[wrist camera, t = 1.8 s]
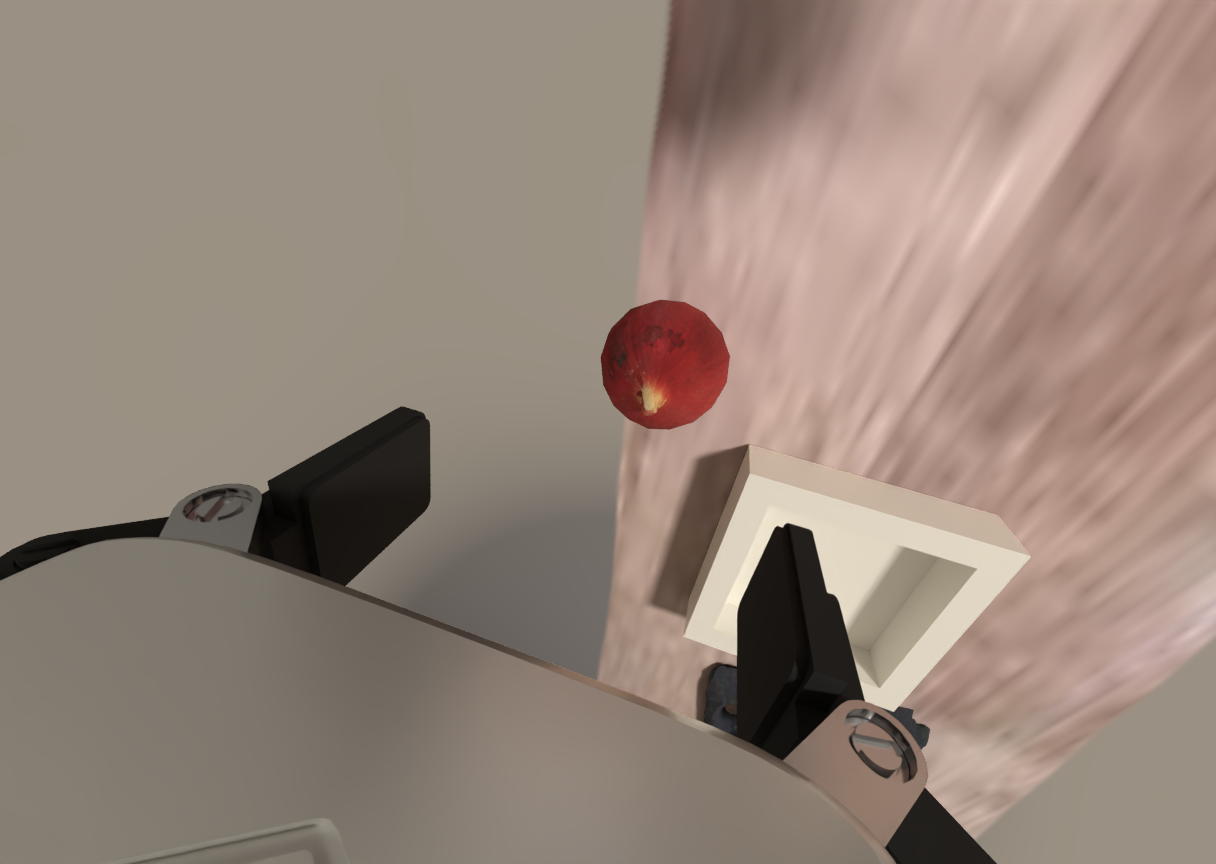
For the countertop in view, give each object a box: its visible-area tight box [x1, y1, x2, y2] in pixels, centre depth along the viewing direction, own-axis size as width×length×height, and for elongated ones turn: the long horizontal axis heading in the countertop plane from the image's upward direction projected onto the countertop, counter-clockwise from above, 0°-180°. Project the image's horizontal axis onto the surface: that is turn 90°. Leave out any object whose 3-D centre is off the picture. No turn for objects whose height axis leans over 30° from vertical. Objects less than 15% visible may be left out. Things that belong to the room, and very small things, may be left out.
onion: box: [601, 300, 730, 429], centre depth 20 cm, size 6×6×8 cm
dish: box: [683, 444, 1031, 712], centre depth 26 cm, size 13×13×3 cm
